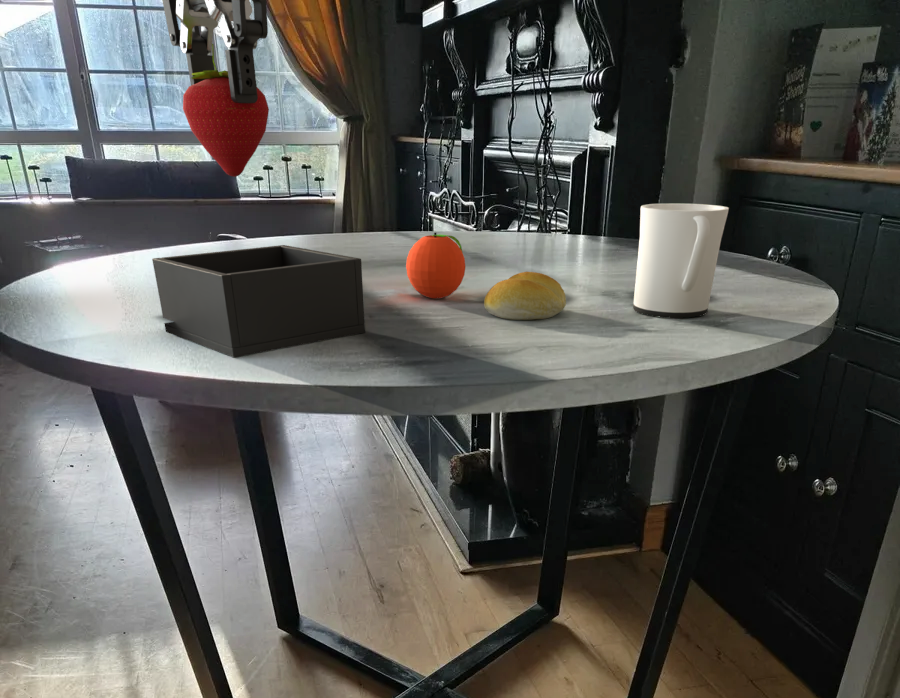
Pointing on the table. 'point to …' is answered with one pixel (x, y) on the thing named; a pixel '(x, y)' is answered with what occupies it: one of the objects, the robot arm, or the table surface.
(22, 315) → the table surface
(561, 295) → the bread roll
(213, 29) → the robot arm
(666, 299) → the mug
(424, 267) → the clementine
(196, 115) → the strawberry
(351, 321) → the open box
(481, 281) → the table surface
